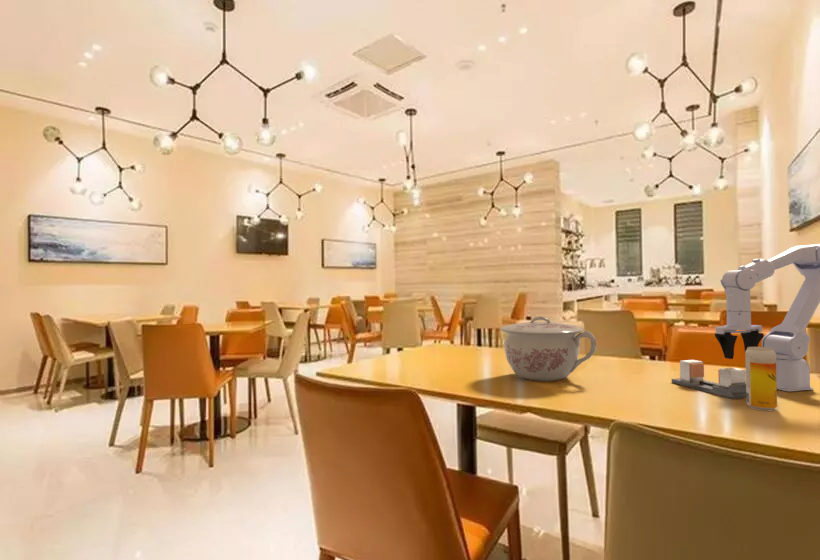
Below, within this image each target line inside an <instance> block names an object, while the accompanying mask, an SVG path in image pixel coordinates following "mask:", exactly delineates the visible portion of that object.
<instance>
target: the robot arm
mask: <svg viewBox="0 0 820 560" xmlns="http://www.w3.org/2000/svg"><path fill="white" fill-rule="evenodd" d="M790 265H794V267H795V268H796V270H797V271H798V272H799V273H800V275H801V276H803V277H804V281H803V283H802V285H801V286H800V288H799V290H798V292H797V293H796V296H795V297H794V300H793V301H792V303H791V306H790V307H789V309H788V311H787V312H786V314H785V317H784V319H783V320H782V322H781V323H780V324H778V325H776V326H774V327H772V328H771V329H770V330H769V331H768V333H767V334H765V335H764V332H763V326H762V325H761V324H760V325H759V324H752V313H751V311H752V310H751V306H752V305H751V304H752V303H751V290H752V289H753V288H754V287H755V285H756V284H757V283H759V282H761V281H763V280H767V279H768V278H770V277H772V276H773V275H774V274H775V270H778V269H781V268H784V267H787V266H790ZM720 284H721V286H722V288H723V289H724V290H723V291H724V294H725V296H726V297H725V303H726V305H725V306H726V324H724V325H721V326H720V325H719V326H715V332H714V337H715V338H716V340H717V342H718V344H719V345H720V347H721V350H722V353H723V356H724V359H729V360H733V359H734V356H735V347H736V346H735V345H736V342H737V339H738V335H734V334H740V336H741V339H742V341H743V348H744V352H745V351H746V350H747V347H759V344H760V343H761V347H767V348H773V349H774V351H775V353H776V377H777V390H778V391H779V390H780V391H784V392H789V393H790V392H799V391H809V390H810V391H811V390H812V391H813V390H814V387H811V374H810V373H811V369H810V368H811V367H810V364H809V363H808V361H806V360H805V359H804V358H805V356H806V355H807V353H808V350H809V343H810V341H811V337H810V335H809V334H808V333H807V332H806V329H807V327H808V325H809V323H810V322H811V319H812V317H813V316H814V315H815V312H816V310H817V308H818V307H819V305H820V243H815V244H805V245H804V244H803V245H802V244H799V245H795V246H792V247H789V248H788V249H787V250H785V251H783V252H781V253H779V254H777V255H775V256H773V257H772V258H769V259H765V258H764V259H763V258H754V259H752V261H751V262H750V263H748V264H745V265H740V266H738V268H737V269H736V270H734V269H733V270H732V269H731V270H727V271H726V272H725V273H724V274H723V275H722V278H721V279H720Z"/></svg>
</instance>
